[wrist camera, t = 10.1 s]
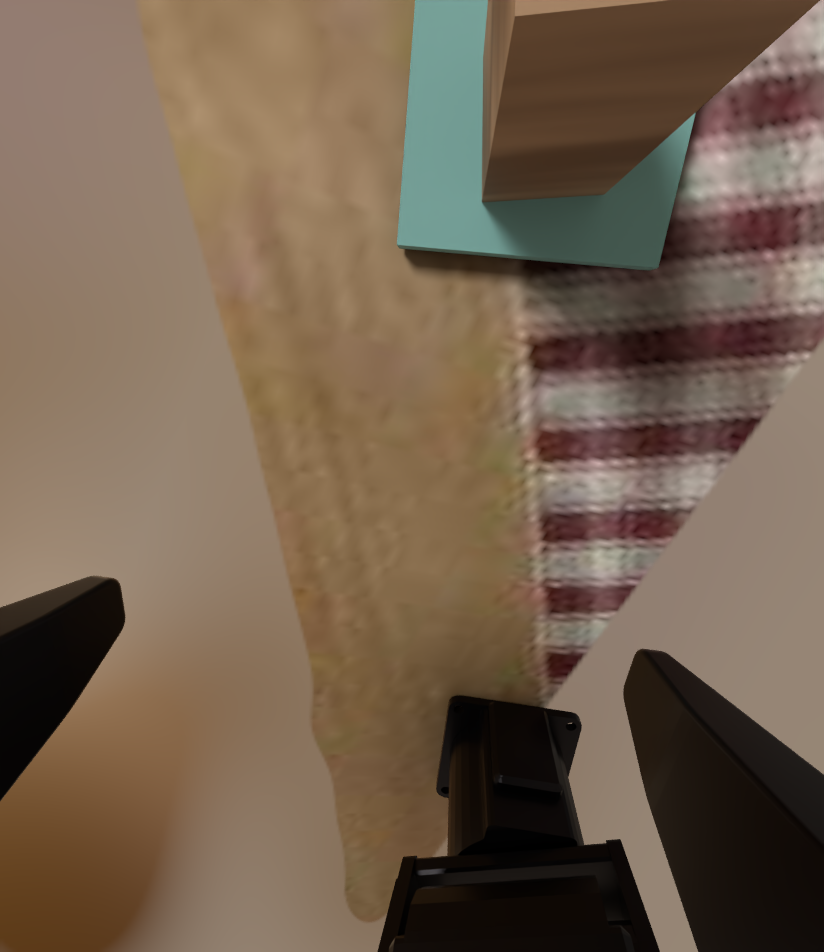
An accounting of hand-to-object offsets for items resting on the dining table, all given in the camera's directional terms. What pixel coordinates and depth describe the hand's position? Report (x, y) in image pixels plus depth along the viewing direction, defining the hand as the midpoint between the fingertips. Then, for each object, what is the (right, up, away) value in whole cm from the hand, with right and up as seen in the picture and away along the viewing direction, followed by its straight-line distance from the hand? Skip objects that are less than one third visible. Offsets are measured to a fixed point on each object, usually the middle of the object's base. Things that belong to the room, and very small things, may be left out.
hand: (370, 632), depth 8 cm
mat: (+5, +14, +8) cm, 17 cm away
